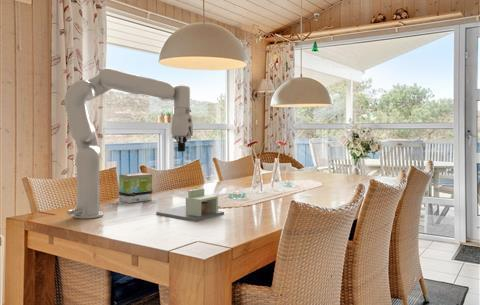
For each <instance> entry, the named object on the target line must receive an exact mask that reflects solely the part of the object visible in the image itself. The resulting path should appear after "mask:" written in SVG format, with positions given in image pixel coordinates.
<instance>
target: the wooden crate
mask: <svg viewBox="0 0 480 305" xmlns="http://www.w3.org/2000/svg"><path fill="white" fill-rule="evenodd" d="M209 213H210V202H203V201H202V202H201V215H205V214H209Z"/></svg>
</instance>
